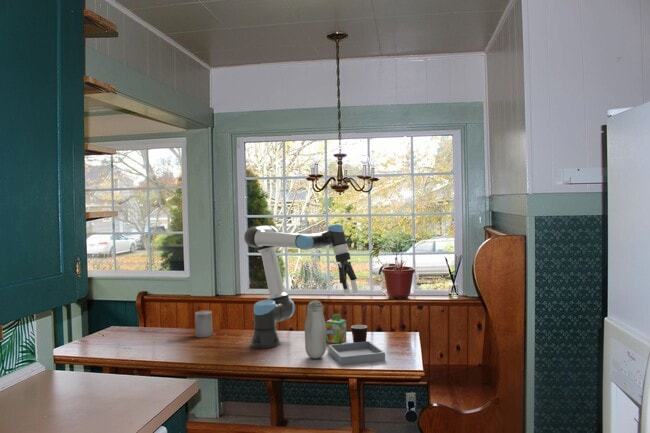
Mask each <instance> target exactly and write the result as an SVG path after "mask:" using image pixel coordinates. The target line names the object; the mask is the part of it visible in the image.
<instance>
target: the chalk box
mask: <svg viewBox="0 0 650 433" xmlns="http://www.w3.org/2000/svg"><path fill="white" fill-rule="evenodd" d="M335 317H337V318H335ZM325 324H326V344H327V343H329V344H344V342H345V341H347V320H346V319H343V318H341V314H340V313H332V315H331V318H330V319H329V320H326V321H325Z"/></svg>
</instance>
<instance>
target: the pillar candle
mask: <svg viewBox="0 0 650 433" xmlns="http://www.w3.org/2000/svg"><path fill="white" fill-rule="evenodd" d="M212 314H213V311H212V310H207V309H206V310H204V309H203V310H199V311H195V312H194V318H195V321H194V322H195V326H194V327H195V337H196V338H209V337H211V336H213V334H214V333H213V332H214V330H213V315H212Z"/></svg>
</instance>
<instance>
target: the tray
mask: <svg viewBox="0 0 650 433" xmlns="http://www.w3.org/2000/svg"><path fill="white" fill-rule="evenodd" d="M327 348H328V350H327V351H328V354H329V355H330V356H331V357H332V358H333V359H334V360H335V361H336V363H338V364H339V365H340V366H348V365H349V366H350V365H358V364H367V363H368V364H369V363H378V362H385V361H386V352H385V351H384V350H382V349H381V348H380V347H378V346H377V345H375V344H374V342H373V343H372V342H371V341H370V340H366V341H365V342H355V343H353V342H347V343H344V342H343V343H341V344H336V343H333V344H328V347H327Z"/></svg>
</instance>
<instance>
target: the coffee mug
mask: <svg viewBox="0 0 650 433" xmlns="http://www.w3.org/2000/svg"><path fill="white" fill-rule="evenodd" d="M350 328H351V335H352V341H353V342H352V343H355V342H365V341H367V337H368V336H367V335H368V326H367V325H364V324H355V325H351V327H350Z"/></svg>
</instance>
